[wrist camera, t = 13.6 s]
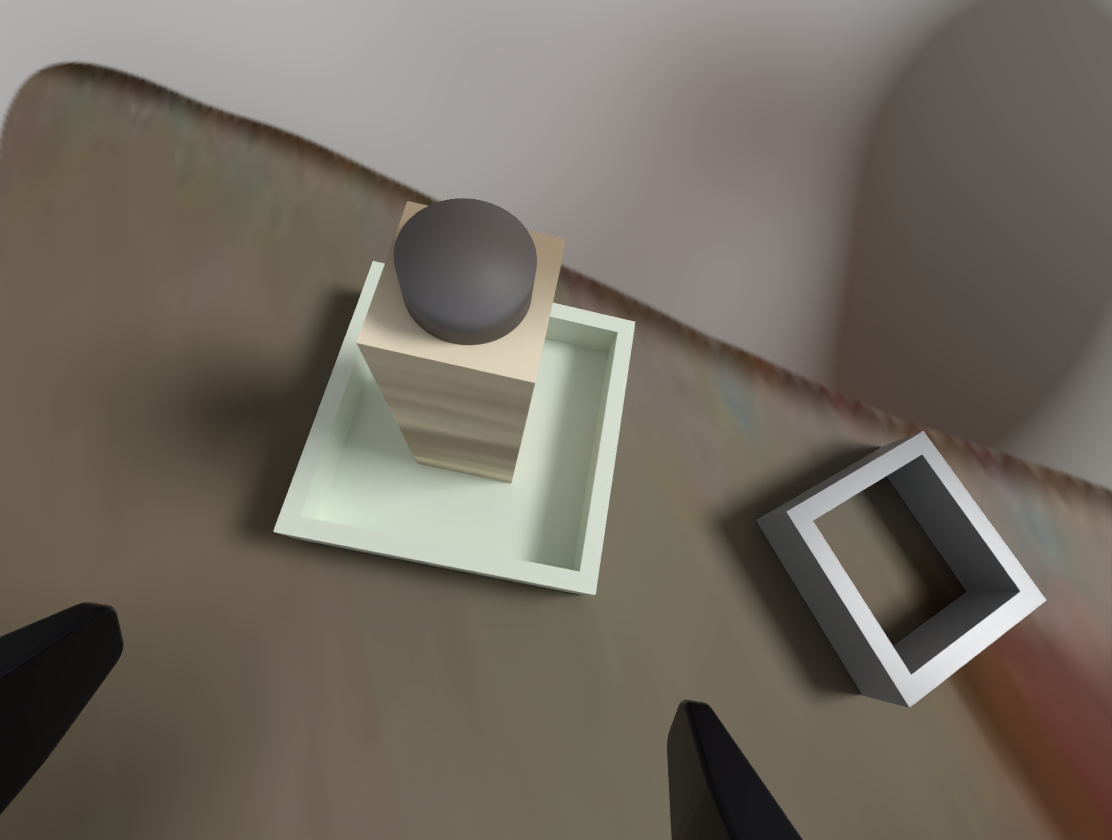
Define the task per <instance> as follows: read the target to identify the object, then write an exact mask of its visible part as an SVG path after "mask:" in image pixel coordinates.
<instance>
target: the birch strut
mask: <svg viewBox="0 0 1112 840" xmlns="http://www.w3.org/2000/svg"><path fill="white" fill-rule="evenodd" d="M565 244H566V239H562V238H558V237H554V236H550V235H545V234H541V233H537V232H533V231H529V230H527V229H526V228H525V227H524V225H523V224H522V223H521V222H520V221H519V220H518V219H517V218H516V217H514V216H513V215H512V214H510V213H509V212H508V211H506V210H504V209H502V208H501V207H499V206H496V205H494V204H491V203H488V202H485V201H480V200H475V199H450V200H444V201H440V202H437V203H434V204H431V205H429V206H426V205H422V204H418V203H414V202H410V201H407V204H406V207H405V210H404V212H403V215H402V218H401V221H400V223H399V226H398V229H397V232H396V234H395V237H394V240H393V243H392V245H391V248H390V251H389V254H388V256H387V259H386V262H385V265H384V267H383V270H382V273H381V276H380V279H379V281H378V284H377V287H376V290H375V292H374V295H373V298H372V301H371V303H370V306H369V309H368V312H367V314H366V317H365V320H364V323H363V325H362V328H361V331H360V334H359V336H358V339H357V342H356V344H357V346H358V347H359V349H360V351H361V353H362V355H363V357H364V359H365V361H366V363H367V365H368V367H369V369H370V371H371V373H372V375H373V377H374V379H375V381H376V383H377V385H378V387H379V389H380V391H381V393H382V395H383V397H384V399H385V401H386V403H387V405H388V407H389V409H390V411H391V413H392V414H393V416H394V418H395V420H396V422H397V424H398V426H399V428H400V430H401V432H402V434H403V436H404V438H405V440H406V442H407V444H408V446H409V448H410V450H411V452H412V454H413V456H414V458H415V460H416V462H417V464H422V465H427V466H432V467H436V468H441V469H446V470H451V471H455V472H460V473H465V474H470V475H474V476H479V477H484V478H489V479H493V480H498V481H503V482H508V483H512V479H513V475H514V471H515V466H516V462H517V458H518V454H519V449H520V445H521V441H522V437H523V433H524V428H525V424H526V420H527V416H528V412H529V407H530V403H531V399H532V395H533V390H534V386H535V382H536V377H537V373H538V368H539V363H540V359H541V354H542V350H543V345H544V340H545V336H546V331H547V327H548V322H549V317H550V313H551V308H552V304H553V299H554V294H555V290H556V285H557V281H558V276H559V271H560V267H561V262H562V257H563V253H564V248H565Z"/></svg>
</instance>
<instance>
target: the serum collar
mask: <svg viewBox="0 0 1112 840" xmlns="http://www.w3.org/2000/svg"><path fill="white" fill-rule="evenodd" d="M886 476H887V478H888V479H889V481H890V482H891V484H892V485H893V486H894V488H895V489H896V491H897V492H898V494H899V495H900V497H901V498H902V499H903V501H904V502H905V504H906V505H907V507H908V508H909V510H910V511H911V512H912V514H913V515H914V517H915V518H916V520H917V521H918V523H919V524H920V525H921V527H922V528H923V530H924V531H925V533H926V534H927V536H928V537H929V539H930V540H931V541H932V543H933V544H934V546H935V547H936V549H937V550H938V552H939V553H940V554H941V556H942V557H943V559H944V560H945V562H946V563H947V565H948V566H949V567H950V569H951V570H952V572H953V573H954V575H955V576H956V578H957V579H958V580H959V582H960V583H961V585H962V586H963V588H964V589H965V591H966V593H964V594H963V595H961V596H960V597H959V598H957V599H956V600H955V601H953V602H952V603H951V604H949V605H948V606H946V607H945V608H944V609H942V610H941V611H940V612H938V613H937V614H935V615H934V616H933V617H931V618H930V619H929V620H927V621H926V622H925V623H923V624H922V625H920V626H919V627H918V628H916V629H915V630H914V631H912V632H911V633H909V634H908V635H907V636H905V637H904V638H903V639H901V640H900V641H899V642H897V643H896V644H894V645H893V646H892V644H891V642H890V641H889V639H888V638H887V636H886V635H885V633H884V631H883V630H882V628H881V627H880V625H879V624H878V622H877V620H876V619H875V617H874V616H873V614H872V613H871V611H870V610H869V608H868V606H867V605H866V603H865V602H864V600H863V599H862V597H861V595H860V594H859V592H858V591H857V589H856V588H855V586H854V584H853V583H852V581H851V580H850V578H849V577H848V575H847V573H846V572H845V570H844V569H843V567H842V566H841V564H840V563H839V561H838V559H837V558H836V556H835V555H834V553H833V552H832V550H831V548H830V547H829V545H828V544H827V542H826V541H825V539H824V537H823V536H822V534H821V533H820V531H819V530H818V528H817V527H816V525H815V523H814V522H813V520H815V519H816V518H818V517H820V516H821V515H823V514H824V513H826V512H828V511H829V510H831V509H833V508H834V507H836V506H838V505H839V504H841V503H843V502H844V501H846V500H848V499H849V498H851V497H853V496H854V495H856V494H858V493H859V492H861V491H862V490H864V489H866V488H867V487H869V486H871V485H872V484H874V483H876V482H877V481H879V480H881V479H882V478H884V477H886ZM756 522H757V523H758V525H759V527H760V528H761V530H762V532H763V533H764V535H765V536H766V538H767V540H768V541H769V543H770V545H771V546H772V548H773V550H774V551H775V553H776V555H777V556H778V558H779V559H780V561H781V563H782V564H783V566H784V568H785V569H786V571H787V573H788V574H789V576H790V577H791V579H792V581H793V582H794V584H795V586H796V587H797V589H798V591H799V592H800V594H801V596H802V597H803V599H804V600H805V602H806V604H807V605H808V607H809V609H810V610H811V612H812V614H813V615H814V617H815V618H816V620H817V622H818V623H819V625H820V627H821V628H822V630H823V632H824V633H825V635H826V636H827V638H828V640H829V641H830V643H831V645H832V646H833V648H834V650H835V651H836V653H837V655H838V656H839V658H840V659H841V661H842V663H843V664H844V666H845V668H846V669H847V671H848V673H849V674H850V676H851V677H852V679H853V681H854V682H855V684H856V686H857V687H858V689H859V691H860V692H861V694H862V695H863V696H867V697H871V698H875V699H879V700H882V701H886V702H890V703H894V704H898V705H901V706H905V707H909V708H910V707H911V706H912V705H914V704H915V703H916V702H917V701H919V700H920V699H921V698H922V697H924V696H925V695H926V694H928V693H929V692H930V691H931V690H933V689H934V688H935V687H936V686H938V685H939V684H940V683H942V682H943V681H944V680H945V679H947V678H948V677H949V676H950V675H952V674H953V673H954V672H956V671H957V670H958V669H959V668H961V667H962V666H963V665H964V664H966V663H967V662H968V661H970V660H971V659H972V658H973V657H975V656H976V655H977V654H979V653H980V652H981V651H982V650H984V649H985V648H986V647H987V646H989V645H990V644H991V643H993V642H994V641H995V640H996V639H998V638H999V637H1000V636H1001V635H1003V634H1004V633H1005V632H1007V631H1008V630H1009V629H1010V628H1012V627H1013V626H1014V625H1015V624H1017V623H1018V622H1019V621H1021V620H1022V619H1023V618H1024V617H1026V616H1027V615H1028V614H1029V613H1031V612H1032V611H1033V610H1035V609H1036V608H1037V607H1038V606H1040V605H1041V604H1042V603H1043V602H1045V601H1046V599H1045V598H1044V596H1043V595H1042V593H1041V592H1040V591H1039V589H1038V588H1037V587H1036V585H1035V584H1034V582H1033V581H1032V580H1031V578H1030V577H1029V576H1028V574H1027V573H1026V571H1025V570H1024V569H1023V567H1022V566H1021V565H1020V563H1019V562H1018V560H1017V559H1016V558H1015V556H1014V555H1013V554H1012V552H1011V551H1010V549H1009V548H1008V547H1007V545H1006V544H1005V543H1004V541H1003V540H1002V538H1001V537H1000V536H999V534H998V533H997V532H996V530H995V529H994V527H993V526H992V525H991V523H990V522H989V521H988V519H987V518H986V516H985V515H984V514H983V512H982V511H981V510H980V508H979V507H978V505H977V504H976V503H975V501H974V500H973V499H972V497H971V496H970V494H969V493H968V492H967V490H966V489H965V488H964V486H963V485H962V483H961V482H960V481H959V479H958V478H957V477H956V475H955V474H954V472H953V471H952V470H951V468H950V467H949V466H948V464H947V463H946V461H945V460H944V459H943V457H942V456H941V454H940V453H939V452H938V450H937V449H936V448H935V446H934V445H933V443H932V442H931V441H930V439H929V438H928V437H927V435H926V434H925V432H924V431H922V432H920V433H917V434H914V435H912V436H909V437H906V438H904V439H901V440H898V441H896V442H893V443H890V444H888V445H885V446H882V447H881V448H879V449H877V450H876V451H874V452H872V453H870V454H869V455H867V456H865V457H863V458H862V459H860V460H858V461H857V462H855V463H853V464H851V465H850V466H848V467H846V468H845V469H843V470H841V471H839V472H838V473H836V474H834V475H833V476H831V477H829V478H827V479H826V480H824V481H822V482H821V483H819V484H817V485H815V486H814V487H812V488H810V489H809V490H807V491H805V492H803V493H802V494H800V495H798V496H797V497H795V498H793V499H791V500H790V501H788V502H786V503H784V504H783V505H781V506H779V507H778V508H776V509H774V510H772V511H771V512H769V513H767V514H766V515H764V516H762V517H760V518H759V519H757V520H756Z"/></svg>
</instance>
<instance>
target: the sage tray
mask: <svg viewBox="0 0 1112 840" xmlns="http://www.w3.org/2000/svg"><path fill="white" fill-rule="evenodd" d="M384 265H385V264H383V263H379V262H375V261H373V263H372V266H371V268H370V271H369V274H368V276H367V279H366V282H365V285H364V287H363V290H362V293H361V295H360V298H359V301H358V304H357V306H356V309H355V312H354V314H353V317H352V320H351V323H350V325H349V328H348V331H347V333H346V336H345V339H344V341H343V344H342V347H341V350H340V352H339V355H338V358H337V360H336V363H335V366H334V369H333V371H332V374H331V377H330V379H329V382H328V385H327V387H326V390H325V393H324V396H323V398H322V401H321V404H320V406H319V409H318V412H317V415H316V417H315V420H314V423H313V425H312V428H311V431H310V434H309V436H308V439H307V442H306V444H305V447H304V450H303V452H302V455H301V458H300V461H299V463H298V466H297V469H296V471H295V474H294V477H293V480H292V482H291V485H290V488H289V490H288V493H287V496H286V498H285V501H284V504H283V507H282V509H281V512H280V515H279V517H278V520H277V523H276V526H275V528H274V531H273V532H275V533H279V534H282V535H285V536H288V537H292V538H295V539H299V540H304V541H309V542H314V543H319V544H324V545H329V546H334V547H339V548H345V549H350V550H355V551H360V552H365V553H370V554H375V555H380V556H385V557H390V558H396V559H401V560H406V561H411V562H416V563H421V564H426V565H431V566H436V567H442V568H447V569H452V570H457V571H462V572H467V573H472V574H477V575H482V576H487V577H493V578H498V579H503V580H508V581H513V582H518V583H523V584H528V585H533V586H539V587H544V588H549V589H554V590H559V591H564V592H569V593H574V594H579V595H595V594H596V588H597V581H598V574H599V567H600V560H601V553H602V546H603V540H604V533H605V526H606V519H607V512H608V505H609V498H610V492H611V485H612V478H613V471H614V464H615V457H616V450H617V444H618V437H619V430H620V423H621V416H622V409H623V402H624V396H625V389H626V382H627V375H628V368H629V361H630V355H631V348H632V341H633V334H634V327H635V322H633V321H629V320H625V319H620V318H616V317H612V316H607V315H603V314H599V313H595V312H590V311H586V310H582V309H577V308H573V307H569V306H564V305H560V304H556V303H553V304H552V308H551V313H550V317H549V322H548V327H547V331H546V336H545V340H544V345H543V350H542V354H541V359H540V363H539V368H538V373H537V377H536V382H535V386H534V390H533V395H532V399H531V403H530V407H529V412H528V416H527V420H526V424H525V428H524V433H523V437H522V441H521V445H520V449H519V454H518V458H517V462H516V466H515V471H514V475H513V479H512V483H508V482H503V481H498V480H493V479H489V478H484V477H479V476H474V475H470V474H465V473H460V472H455V471H451V470H446V469H441V468H436V467H432V466H427V465H422V464H417V462H416V460H415V458H414V456H413V454H412V452H411V450H410V448H409V446H408V444H407V442H406V440H405V438H404V436H403V434H402V432H401V430H400V428H399V426H398V424H397V422H396V420H395V418H394V416H393V414H392V413H391V411H390V409H389V407H388V405H387V403H386V401H385V399H384V397H383V395H382V393H381V391H380V389H379V387H378V385H377V383H376V381H375V379H374V377H373V375H372V373H371V371H370V369H369V367H368V365H367V363H366V361H365V359H364V357H363V355H362V353H361V351H360V349H359V347H358V346H357V344H356V342H357V339H358V336H359V334H360V331H361V328H362V325H363V323H364V320H365V317H366V314H367V312H368V309H369V306H370V303H371V301H372V298H373V295H374V292H375V290H376V287H377V284H378V281H379V279H380V276H381V273H382V270H383V267H384Z"/></svg>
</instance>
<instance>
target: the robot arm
mask: <svg viewBox="0 0 1112 840" xmlns="http://www.w3.org/2000/svg"><path fill="white" fill-rule="evenodd" d="M123 645H124V644H123V638H122V634H121V629H120V625H119V620H118V616H117V612H116V610H115V609H114V608H113V607H112V606H109V605H102V604H96V603H89V602H88V603H81V604H78V605H75V606H72V607H70V608H68V609H65V610H63V611H61V612H58V613H56V614H53V615H51V616H49V617H46V618H44V619H42V620H39V621H37V622H34V623H32V624H30V625H27V626H25V627H23V628H20V629H18V630H15V631H13V632H11V633H8V634H6V635H3V636H1V637H0V815H1V813H2V812H3V811H4V810H5V809H6V808H7V806H8V805H9V804H10V803H11V802H12V800H13V799H14V798H15V797H16V796H17V795H18V793H19V792H20V791H21V790H22V789H23V787H24V786H25V785H26V784H27V783H28V782H29V780H30V779H31V778H32V777H33V775H34V774H35V773H36V772H37V771H38V769H39V768H40V767H41V766H42V764H43V763H44V762H45V761H46V759H47V758H48V757H49V755H50V754H51V753H52V751H53V750H54V749H55V747H56V746H57V745H58V743H59V742H60V741H61V739H62V738H63V736H64V735H65V734H66V732H67V731H68V730H69V728H70V727H71V725H72V724H73V723H74V721H75V720H76V718H77V717H78V716H79V714H80V713H81V711H82V710H83V709H84V707H85V706H86V705H87V703H88V702H89V700H90V699H91V698H92V696H93V695H94V693H95V692H96V691H97V689H98V688H99V687H100V685H101V684H102V682H103V681H104V680H105V678H106V677H107V675H108V674H109V673H110V671H111V670H112V669H113V667H114V666H115V664H116V663H117V661H118V660H119V658H120V656H121V654H122V651H123ZM667 758H668V777H669V797H670V816H671V835H672V840H803V839H802V838H801V836H800V835H799V833H798V832H797V830H796V829H795V828H794V826H793V825H792V823H791V822H790V820H789V819H788V817H787V816H786V815H785V813H784V812H783V810H782V809H781V807H780V806H779V805H778V803H777V802H776V800H775V799H774V797H773V796H772V794H771V793H770V792H769V790H768V789H767V787H766V786H765V784H764V783H763V781H762V780H761V779H760V777H759V776H758V774H757V773H756V771H755V770H754V769H753V767H752V766H751V764H750V763H749V761H748V760H747V758H746V757H745V756H744V754H743V753H742V751H741V750H740V748H739V747H738V746H737V744H736V743H735V741H734V740H733V738H732V737H731V735H730V734H729V733H728V731H727V730H726V728H725V727H724V725H723V724H722V723H721V721H720V720H719V718H718V717H717V715H716V714H715V712H714V711H713V710H712V708H711V707H710V706H709V705H708V704H706V703H703V702H698V701H692V700H683V701H681V702H680V704H679V706H678V709H677V712H676V715H675V717H674V720H673V723H672V725H671V728H670V731H669V734H668V740H667Z"/></svg>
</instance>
